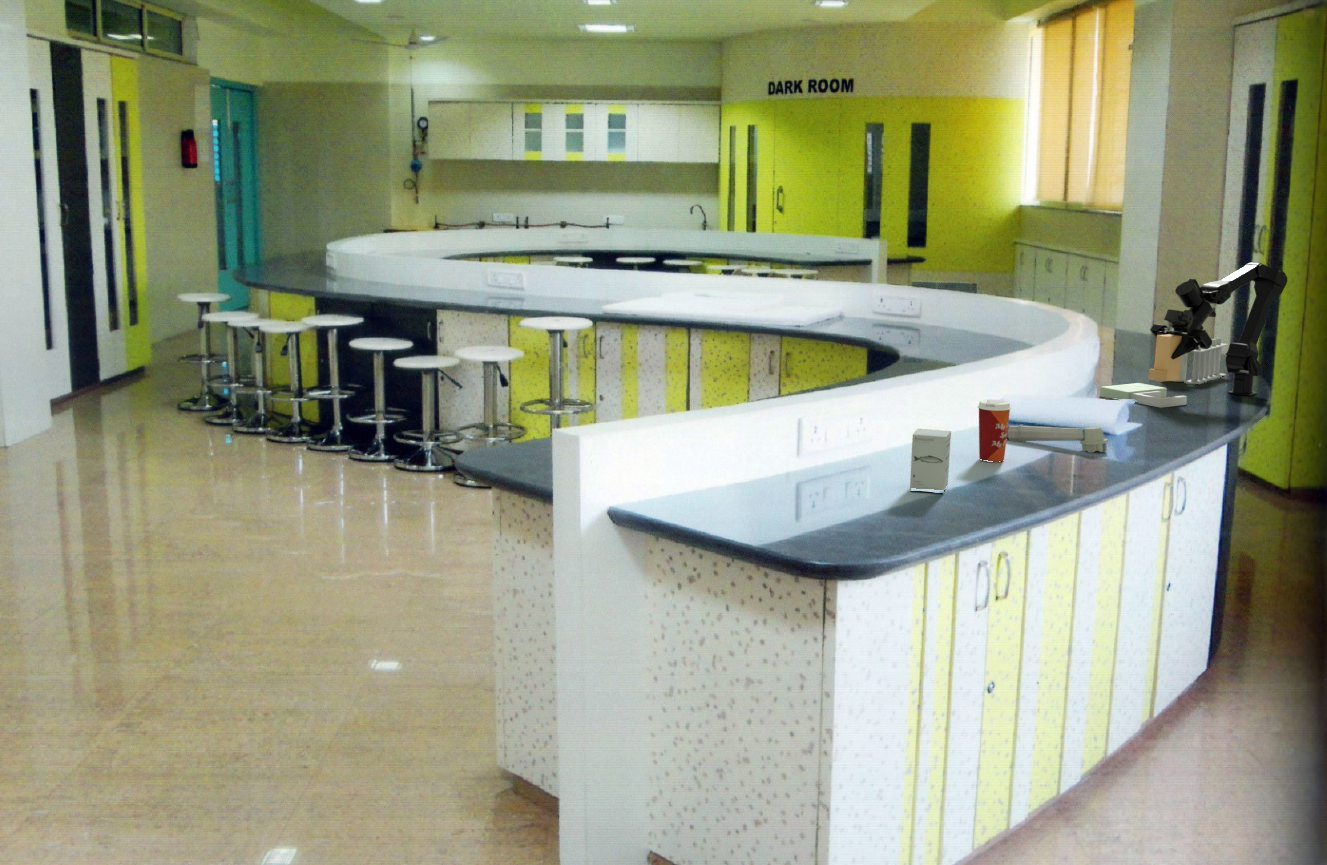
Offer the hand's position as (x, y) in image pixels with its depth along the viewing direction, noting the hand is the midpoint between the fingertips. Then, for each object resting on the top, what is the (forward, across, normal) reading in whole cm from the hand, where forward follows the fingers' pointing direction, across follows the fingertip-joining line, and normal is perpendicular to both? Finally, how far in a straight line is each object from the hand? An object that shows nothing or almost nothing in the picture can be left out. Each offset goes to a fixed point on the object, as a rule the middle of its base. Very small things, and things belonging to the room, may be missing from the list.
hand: (1164, 357), depth 351 cm
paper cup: (+77, +36, -57) cm, 103 cm away
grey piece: (+60, +31, -40) cm, 79 cm away
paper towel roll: (-16, -28, +36) cm, 48 cm away
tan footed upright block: (+4, 0, +6) cm, 7 cm away
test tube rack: (-24, -25, +44) cm, 55 cm away
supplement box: (+99, +52, -79) cm, 137 cm away
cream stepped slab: (+10, -5, +10) cm, 15 cm away
